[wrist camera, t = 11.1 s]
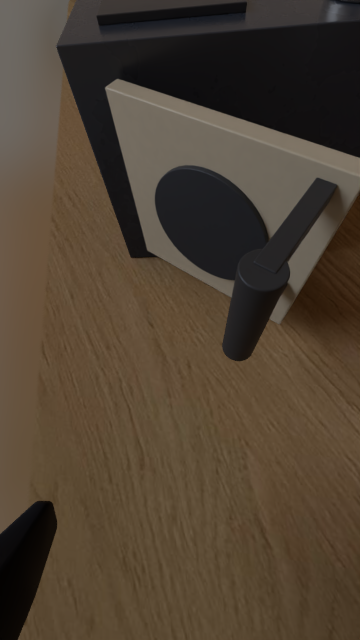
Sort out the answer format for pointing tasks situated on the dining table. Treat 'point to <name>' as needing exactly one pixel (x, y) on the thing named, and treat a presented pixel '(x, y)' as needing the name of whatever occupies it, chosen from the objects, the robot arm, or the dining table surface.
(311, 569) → the dining table surface
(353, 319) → the dining table surface
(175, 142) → the washer door
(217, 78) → the washer
